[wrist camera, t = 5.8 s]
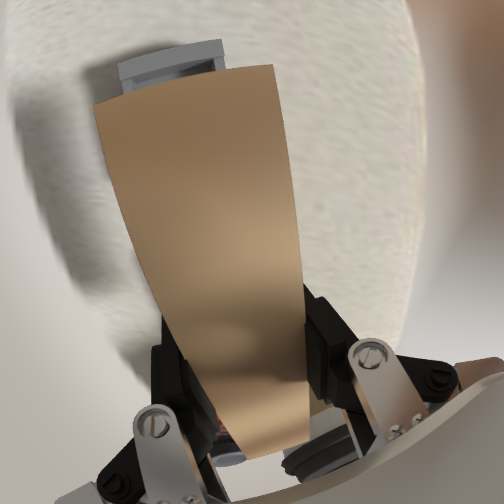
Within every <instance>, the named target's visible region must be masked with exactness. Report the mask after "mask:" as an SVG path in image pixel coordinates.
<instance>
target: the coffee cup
mask: <svg viewBox="0 0 504 504" xmlns="http://www.w3.org/2000/svg"><path fill="white" fill-rule="evenodd" d="M309 409H310V440H309V441H307V442H304V443H301V444H299V445H296V446H293V447H290V448H287V449H284V450H283V453H284V458H285V459H284V460H283V461H282V465H281V466H282V467H284V468H285V472H286V474H289V475H291V476H296V477H297V478H298V480H299V482H300V483H304V482H307V481H310V480H312V479H315V478H318V477H320V476H323V475H325V474H327V473H330V472H332V471H334V470H337V469H339V468H341V467H343V466H346V465H348V464H350V463H352V462H354V461H356V460H358V459H359V456H358V453H357V451H356V448H355V445H354V442H353V440H352V437H351V434H350V432H349V429H348V426H347V423H346V421H345V418H344V415H343V413H342V410H341V409H340V408H336V407H334V405H333V403H331V404H329V405H327V406H326V404H325V402H324V400H323V399H322V400H318V399H317V398H316V396H315V394H314V392H313V390H312V388H311V387H310V385H309Z"/></svg>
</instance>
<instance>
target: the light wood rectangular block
mask: <svg viewBox="0 0 504 504" xmlns="http://www.w3.org/2000/svg"><path fill="white" fill-rule="evenodd" d="M93 109H94V114H95V118H96V123H97V128H98V132H99V136H100V141H101V145H102V149H103V153H104V157H105V160H106V164H107V168H108V171H109V175H110V178H111V182H112V185H113V188H114V192H115V195H116V198H117V201H118V204H119V207H120V210H121V213H122V216H123V219H124V222H125V225H126V228H127V231H128V233H129V236H130V239H131V242H132V244H133V247H134V249H135V252H136V255H137V257H138V260H139V262H140V265H141V267H142V270H143V272H144V274H145V277H146V279H147V282H148V284H149V286H150V289H151V291H152V293H153V295H154V298H155V300H156V302H157V304H158V306H159V309H160V311H161V313H162V315H163V317H164V319H165V321H166V323H167V325H168V328H169V330H170V332H171V334H172V336H173V338H174V340H175V342H176V343H177V345H178V347H179V349H180V351H181V353H182V355H183V357H184V359H185V360H186V359H187V360H188V362H189V364H190V366H191V368H192V370H193V371H194V373H195V375H196V377H197V379H198V380H199V382H200V384H201V386H202V387H203V389H204V391H205V393H206V394H207V396H208V398H209V399H210V401H211V403H212V404H213V406H214V408H215V409H216V414H217V415H218V417H219V418H220V420H221V421H222V423H223V424H224V426H225V427H226V429H227V431H228V432H229V433H230V435H231V436H232V438H233V439H234V441H235V442H236V444H237V445H238V447H239V448H240V449H241V451H242V452H243V454H244V455H245V456H246V458H247V459H248V460H251V459H255V458H258V457H262V456H265V455H269V454H272V453H275V452H278V451H281V450H284V449H287V448H290V447H293V446H296V445H299V444H301V443H304V442H307V441H309V440H310V409H309V383H308V381H307V362H306V344H305V328H304V324H305V323H306V316H305V302H304V289H303V277H302V266H301V255H300V245H299V235H298V226H297V217H296V209H295V201H294V193H293V185H292V177H291V170H290V163H289V156H288V149H287V143H286V136H285V130H284V124H283V118H282V112H281V106H280V100H279V95H278V89H277V84H276V78H275V73H274V68H273V64H270V65H258V66H248V67H240V68H232V69H225V70H219V71H213V72H207V73H202V74H197V75H192V76H187V77H183V78H179V79H174V80H170V81H166V82H163V83H159V84H155V85H152V86H148V87H145V88H142V89H138V90H135V91H132V92H129V93H126V94H123V95H120V96H117V97H115V98H112V99H109V100H107V101H104V102H101V103H99V104H96V105H94V106H93Z"/></svg>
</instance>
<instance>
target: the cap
mask: <svg viewBox="0 0 504 504" xmlns="http://www.w3.org/2000/svg"><path fill="white" fill-rule="evenodd" d="M224 56H225V55H224V50H223V45H222V40H221V39H216V40H209V41H203V42H197V43H192V44H187V45H182V46H177V47H173V48H168V49H164V50H160V51H156V52H153V53H149V54H145V55H142V56H139V57H135V58H132V59H129V60H126V61H123V62H120V63H117V67H118V73H119V79H120V81H121V83H122V89H123V94H126V93H129V92H132V91H135V90H138V89H142V88H145V87H148V86H152V85H155V84H159V83H163V82H166V81H170V80H174V79H179V78H183V77H187V76H192V75H197V74H202V73H207V72H213V71H219V70H225V69H226V68H225V62H224Z"/></svg>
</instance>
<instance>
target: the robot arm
mask: <svg viewBox="0 0 504 504" xmlns="http://www.w3.org/2000/svg"><path fill="white" fill-rule="evenodd" d="M303 289H304V302H305V316H306V323H305V324H304V328H305V344H306V362H307V381H308V383H309V385H310V387H311V388H312V390H313V392H314V394H315V396H316V398H317V399H318V400H322V399H323V400H324V402H325V404H326V406H327V405H329V404H331V403H333V405H334V407H336V408H340V409H341V410H342V413H343V415H344V418H345V421H346V423H347V426H348V429H349V432H350V434H351V437H352V440H353V442H354V445H355V448H356V451H357V453H358V456H359V459H358V460H356V461H354V462H352V463H350V464H348V465H346V466H343V467H341V468H339V469H337V470H334V471H332V472H330V473H327V474H325V475H323V476H320V477H318V478H315V479H312V480H310V481H307V482H304V483H301V484H298V485H295V486H292V487H290V488H286V489H283V490H280V491H276V492H273V493H270V494H266V495H262V496H258V497H254V498H250V499H245V500H240V501H235V502H231V501H230V499H229V497H228V495H227V493H226V491H225V488H224V486H223V484H222V482H221V480H220V478H219V475H218V473H217V471H216V468H215V466H214V464H213V461H212V459H211V456H210V454H209V452H210V450H211V449H212V448H213V441H217V436H216V433H219V432H220V427H219V422H218V418H217V414H216V409H215V408H214V406H213V404H212V403H211V401H210V399H209V398H208V396H207V394H206V393H205V391H204V389H203V387H202V386H201V384H200V382H199V380H198V379H197V377H196V375H195V373H194V371H193V370H192V368H191V366H190V364H189V362H188V360H187V359H186V360H185V359H184V357H183V355H182V353H181V351H180V349H179V347H178V345H177V343H176V342H175V340H174V338H173V336H172V334H171V332H170V330H169V328H168V325H167V323H166V321H165V319H164V317H163V315H162V344H160V345H156V346H153V347H152V351H151V405H149V406H147V407H144V408H143V409H142V410H140V411H139V412H138V414H137V415H136V416H135V418H134V421H133V434H134V438H132V439H131V440H130V442H129V443H128V444H127V445H126V446H125V447H124V448H123V449H122V450H121V451H120V452H119V453H118V454H117V455H116V457H114V458H113V459H112V460H111V462H109V464H108V465H107V466H106V467H105V468H104V469H103V470H102V471H101V472H100V474H99V475H98V478H97V481H96V482H95V483H93V482H89V483H87V484H85V485H83V486H81V487H80V488H78V489H76V490H74V491H72V492H70V493H68V494H66V495H64V496H62V497H60V498H58V499H57V500H56V501H55V503H54V504H504V361H503V360H502V359H500V358H498V357H491V358H485V359H480V360H474V361H467V362H461V363H456V364H455V366H451V365H450V364H448V363H446V362H442V361H435V360H427V359H419V358H413V357H406V356H399V355H395V354H394V352H393V350H392V349H391V347H390V346H389V345H388V344H387V343H386V342H384V341H382V340H380V339H376V338H366V339H361V340H359V339H358V338H357V337H356V335H355V334H354V333H353V332H352V330H351V329H350V328H349V327H348V326H347V324H346V323H345V322H344V321H343V319H342V318H341V317H340V316H339V314H338V313H337V312H336V311H335V310H334V308H333V307H332V306H331V305H330V303H329V302H328V301H327V300H326V299H325V298H324V297H322V296H321V297H319V298H315V297H314V296H313V295H312V293H311V292H310V291H309V289H308V288H307V287H306V286H305V284H304V283H303Z"/></svg>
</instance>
